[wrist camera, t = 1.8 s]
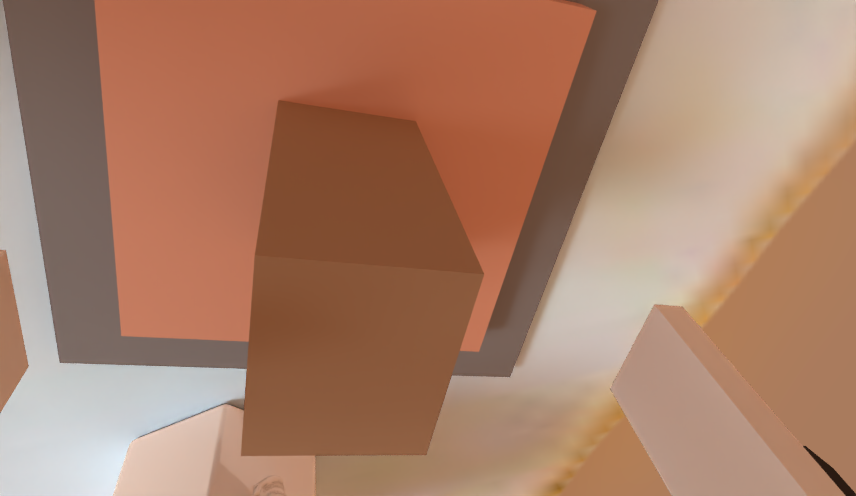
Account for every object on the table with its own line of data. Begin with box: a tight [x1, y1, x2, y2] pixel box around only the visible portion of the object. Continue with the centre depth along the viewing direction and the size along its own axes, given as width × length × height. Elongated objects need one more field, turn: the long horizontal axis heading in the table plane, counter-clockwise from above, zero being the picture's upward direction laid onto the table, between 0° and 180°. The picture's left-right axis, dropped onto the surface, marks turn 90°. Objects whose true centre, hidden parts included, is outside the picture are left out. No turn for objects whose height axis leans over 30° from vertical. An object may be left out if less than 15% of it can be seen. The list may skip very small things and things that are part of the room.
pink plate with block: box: [94, 0, 597, 456], centre depth 15 cm, size 13×13×9 cm
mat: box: [3, 0, 658, 377], centre depth 19 cm, size 18×18×1 cm
